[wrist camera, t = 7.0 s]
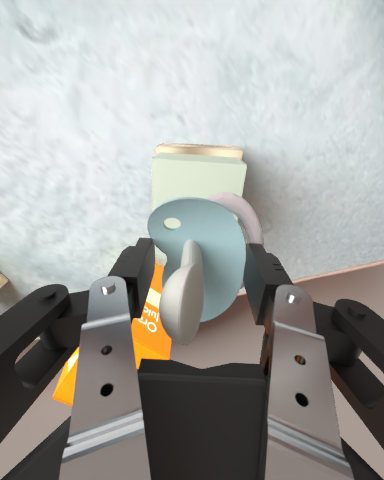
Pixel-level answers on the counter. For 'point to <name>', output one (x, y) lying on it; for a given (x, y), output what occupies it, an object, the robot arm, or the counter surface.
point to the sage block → (194, 178)
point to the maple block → (200, 149)
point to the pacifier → (201, 258)
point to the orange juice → (144, 338)
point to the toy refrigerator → (3, 280)
